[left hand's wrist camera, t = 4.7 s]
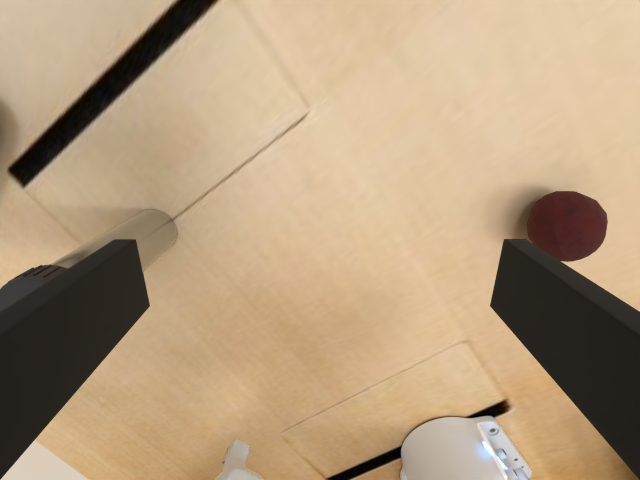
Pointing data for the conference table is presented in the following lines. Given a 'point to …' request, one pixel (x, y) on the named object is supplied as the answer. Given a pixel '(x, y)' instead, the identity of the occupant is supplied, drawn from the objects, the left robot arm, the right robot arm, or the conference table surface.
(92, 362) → the left robot arm
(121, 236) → the silver metal cylinder
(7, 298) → the lid
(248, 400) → the conference table surface
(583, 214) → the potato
